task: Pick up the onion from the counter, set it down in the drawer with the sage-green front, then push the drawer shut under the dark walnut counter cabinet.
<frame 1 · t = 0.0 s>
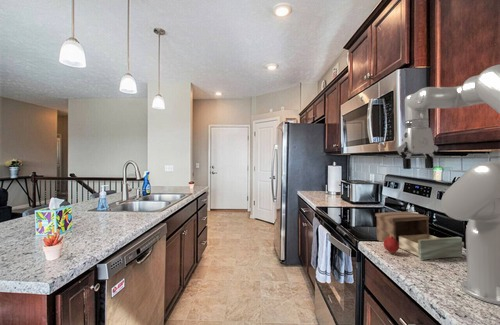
hand: (418, 168, 94), 37 cm above the countertop, tool pointing down, fingers open, 9 cm apart
drawer: (426, 242, 103), point 4 cm above the countertop, slide at 11.0 cm
cabinet: (402, 242, 117), on the countertop
onion: (391, 253, 103), on the countertop
mug: (415, 235, 128), on the countertop
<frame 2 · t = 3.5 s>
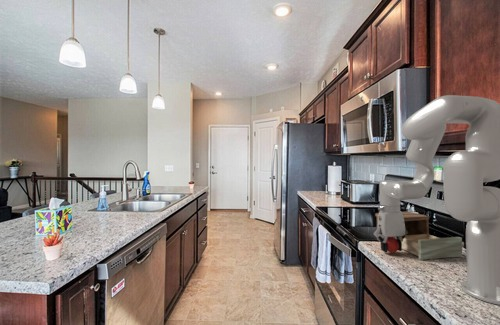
hand: (391, 250, 103), 1 cm above the countertop, tool pointing down, fingers closed on onion, 5 cm apart
onion: (391, 253, 103), on the countertop, touching gripper
everything else where it was.
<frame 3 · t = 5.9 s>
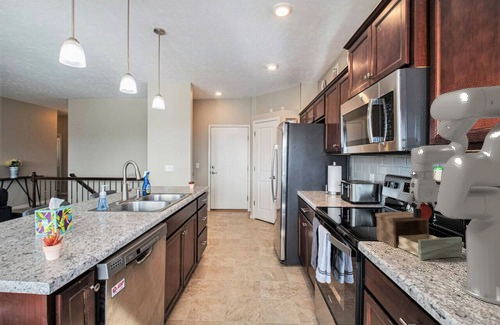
hand: (423, 216, 103), 15 cm above the countertop, tool pointing down, fingers closed on onion, 5 cm apart
onion: (423, 220, 103), point 14 cm above the countertop, touching gripper
everything else where it was.
when the fingers open (4 cm above the countertop, at t = 8.5 s): onion drops 1 cm, resting on drawer.
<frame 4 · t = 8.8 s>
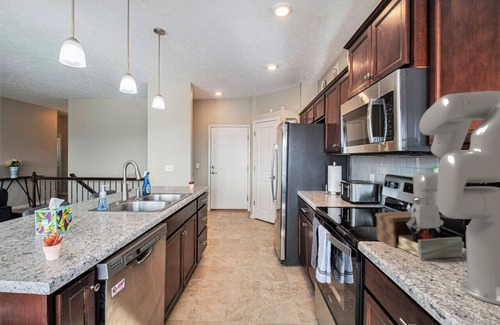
hand: (425, 241, 103), 5 cm above the countertop, tool pointing down, fingers open, 8 cm apart
drawer: (426, 242, 103), point 4 cm above the countertop, slide at 11.0 cm, touching onion
onion: (425, 249, 103), point 1 cm above the countertop, touching drawer
everything else where it was.
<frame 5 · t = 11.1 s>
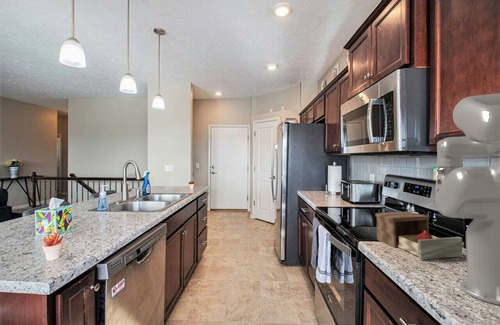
hand: (452, 218, 91), 17 cm above the countertop, tool pointing down, fingers open, 3 cm apart
nothing on the countertop moved.
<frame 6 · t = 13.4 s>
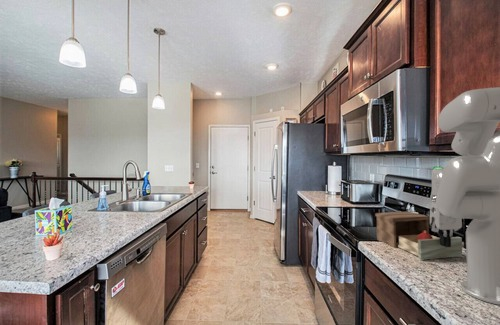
hand: (445, 245, 94), 6 cm above the countertop, tool pointing down, fingers closed
drawer: (426, 242, 103), point 4 cm above the countertop, slide at 11.0 cm, touching gripper, onion
everything else where it was.
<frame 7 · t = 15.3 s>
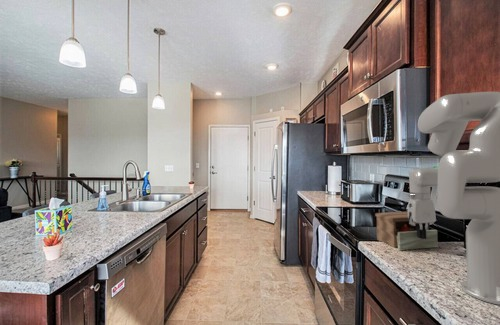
hand: (421, 237, 105), 6 cm above the countertop, tool pointing down, fingers closed
drawer: (406, 235, 114), point 4 cm above the countertop, slide at -0.1 cm, touching gripper, onion
onion: (405, 241, 114), point 1 cm above the countertop, touching drawer
everything else where it was.
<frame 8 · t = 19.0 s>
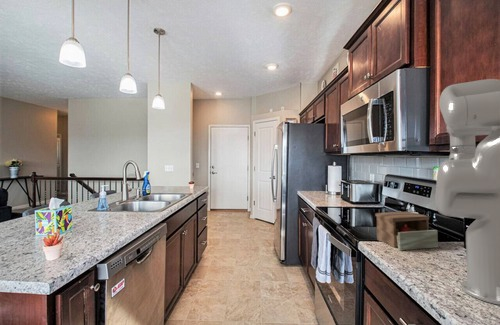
hand: (464, 196, 94), 25 cm above the countertop, tool pointing down, fingers closed
drawer: (406, 235, 114), point 4 cm above the countertop, slide at 0.0 cm, touching onion
everything else where it was.
at the end: drawer slide at 0.0 cm; onion inside the target area on the cabinet (1.1 cm from its centre), point 1.3 cm above the cabinet's base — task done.
